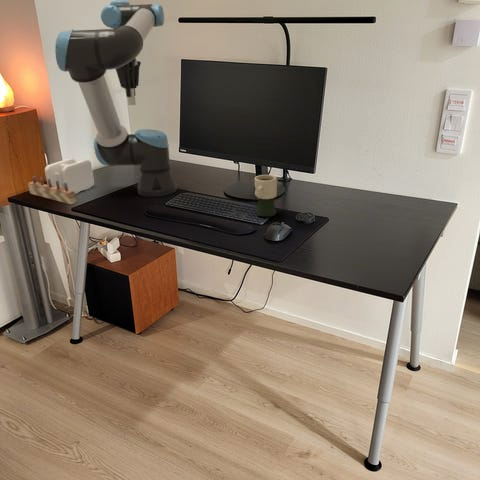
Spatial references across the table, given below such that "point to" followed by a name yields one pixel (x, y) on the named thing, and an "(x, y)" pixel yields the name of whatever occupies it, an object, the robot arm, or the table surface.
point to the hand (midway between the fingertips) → (132, 104)
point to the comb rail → (52, 191)
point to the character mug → (266, 194)
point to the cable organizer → (71, 174)
